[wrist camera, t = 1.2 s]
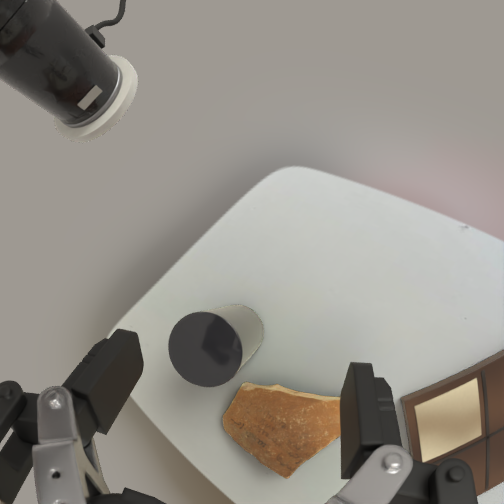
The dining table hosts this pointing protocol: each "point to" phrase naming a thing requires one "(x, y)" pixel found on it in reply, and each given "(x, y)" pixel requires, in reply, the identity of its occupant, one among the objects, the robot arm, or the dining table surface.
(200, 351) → the dark grey cylinder
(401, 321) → the dining table surface
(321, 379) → the dining table surface
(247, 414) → the pottery shard
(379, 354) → the dining table surface
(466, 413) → the board
